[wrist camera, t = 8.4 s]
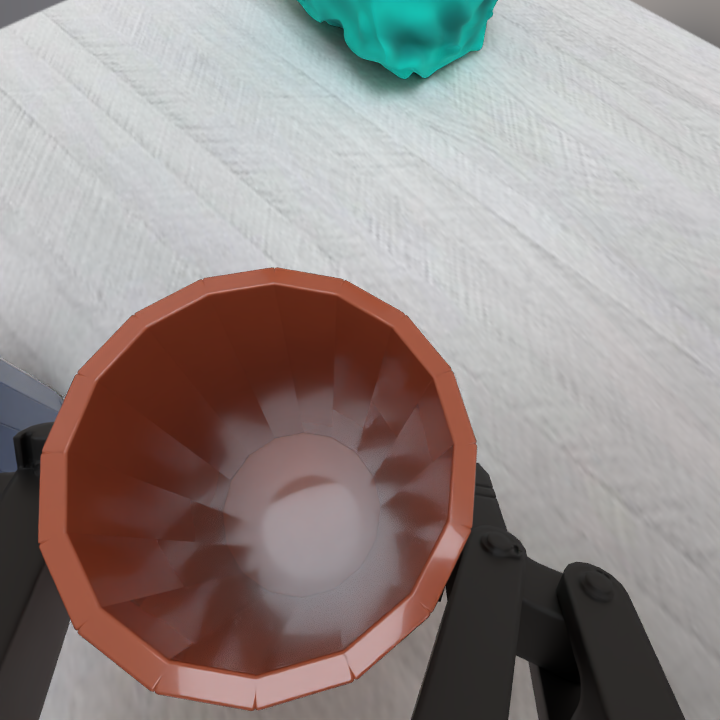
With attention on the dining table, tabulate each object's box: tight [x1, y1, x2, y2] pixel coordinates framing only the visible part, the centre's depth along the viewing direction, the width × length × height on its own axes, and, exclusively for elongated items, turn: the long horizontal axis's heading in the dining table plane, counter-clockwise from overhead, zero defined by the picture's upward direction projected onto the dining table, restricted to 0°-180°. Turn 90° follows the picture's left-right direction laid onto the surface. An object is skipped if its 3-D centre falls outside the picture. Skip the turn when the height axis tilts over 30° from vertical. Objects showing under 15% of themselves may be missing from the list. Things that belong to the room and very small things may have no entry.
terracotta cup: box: [38, 268, 477, 711], centre depth 13 cm, size 7×7×12 cm
